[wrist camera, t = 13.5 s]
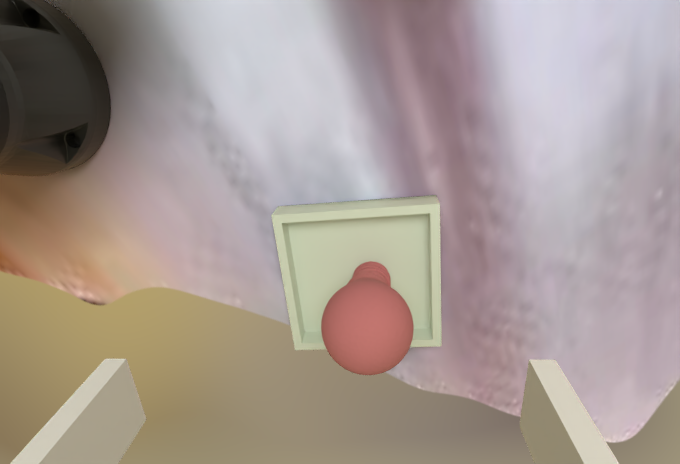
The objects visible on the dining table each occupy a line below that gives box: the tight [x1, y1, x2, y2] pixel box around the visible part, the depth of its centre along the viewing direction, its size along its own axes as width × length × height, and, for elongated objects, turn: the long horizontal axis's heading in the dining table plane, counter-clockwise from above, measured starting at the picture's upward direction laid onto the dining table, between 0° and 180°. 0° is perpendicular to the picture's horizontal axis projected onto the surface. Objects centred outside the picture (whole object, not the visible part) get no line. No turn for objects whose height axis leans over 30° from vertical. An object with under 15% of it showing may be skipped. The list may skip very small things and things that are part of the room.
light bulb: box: [321, 261, 414, 375], centre depth 33 cm, size 7×7×12 cm
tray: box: [271, 195, 441, 350], centre depth 38 cm, size 15×15×2 cm
